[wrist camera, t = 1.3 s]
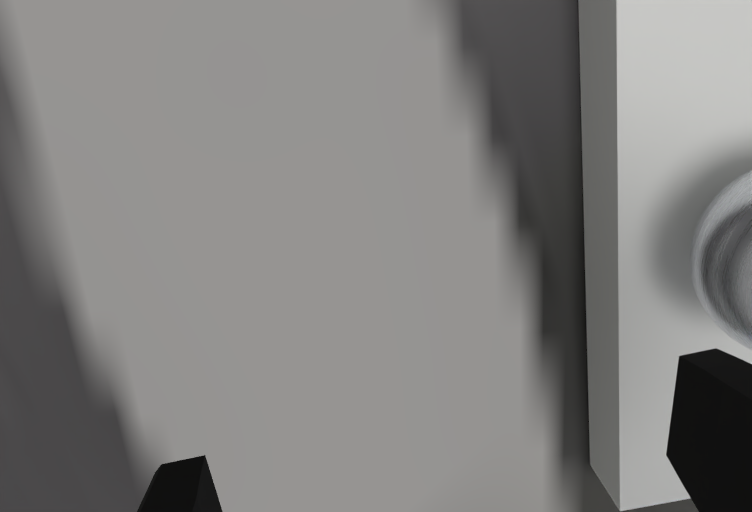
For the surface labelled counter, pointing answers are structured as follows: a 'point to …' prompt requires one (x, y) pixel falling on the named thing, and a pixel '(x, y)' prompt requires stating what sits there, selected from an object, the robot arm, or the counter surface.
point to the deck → (653, 213)
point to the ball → (726, 259)
